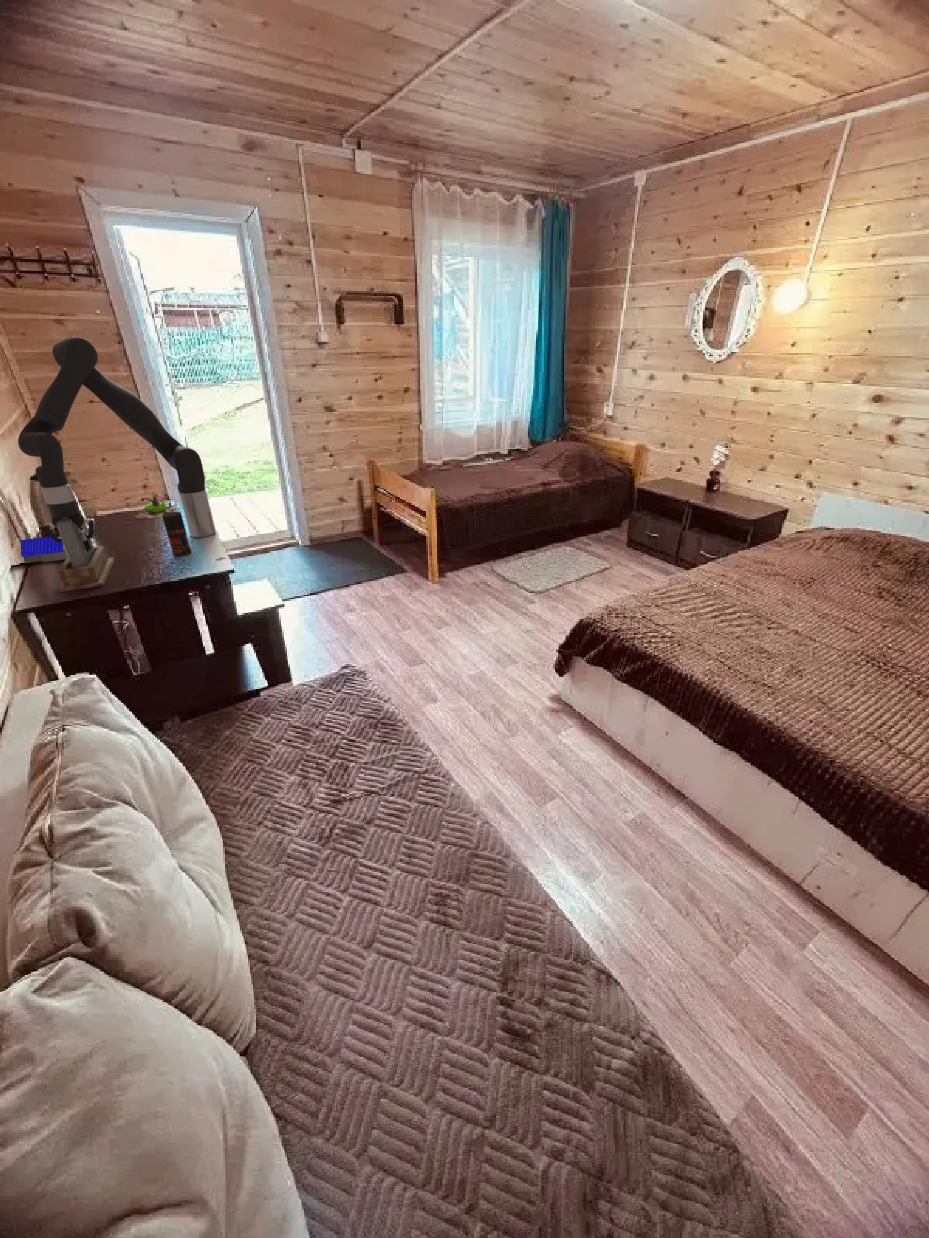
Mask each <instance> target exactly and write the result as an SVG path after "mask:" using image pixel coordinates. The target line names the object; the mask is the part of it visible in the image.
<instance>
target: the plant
mask: <svg viewBox="0 0 929 1238" xmlns="http://www.w3.org/2000/svg"><path fill="white" fill-rule="evenodd" d="M151 496H152V498H153V499H151V498H148V497H142V498H140V499H139V501H140V502H141V503H144V500H147V501H149V503H148V502H147V503H146V504H145V505H144V504H143V505H142V507H144V508H142V509H139V510H138V511H142V512H139V514H138V515H135V516H133V517H134V518H135V517H136V518H135V519H137V520H152V519H151V518H154V517H162V515H163V514H165V513H169V512H180V511H181V508H177V506H176V505H171V504H169V505H168V503H167V500H163V501H162V502H161V503H160V502H159V500H158V498H159V494H157V493H155V492H154V491H153V492H152V493H151ZM165 507H166V509H165ZM179 510H180V511H179ZM162 518H163V517H162Z"/></svg>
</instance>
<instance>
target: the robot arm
mask: <svg viewBox="0 0 929 1238" xmlns="http://www.w3.org/2000/svg"><path fill="white" fill-rule="evenodd" d="M52 356H53V359H54V361H55V362H56V363H57V364H58V366H59V367H60V369H59V371H58V373H57V375H56V377H55V378H54V380H53V381H52V383H51V384H50V385H49V386H48V388H47V389H46V390H45V392H44V393H43V395H42V397H41V399H40V401H39V403H38V406H37V409H36V412H35V413H34V415H33V417H32V418H31V419H30V420H29V421H28V422H27V423H26V424H25V426H24V427H23V428H22V430H21V431H20V433H19V436H18V439H17V442H18V447H19V450H20V451H21V452H22V453H23V454H25V455H27V456H29V457H35V458H40V463H41V465H39V466H37V467H36V468H35V475H36V478H37V480H38V483H39V485H40V488H41V492H42V496H43V499H44V502H45V503H46V507H47V509H48V512H49V514H50V517H51V519H52V520H51V522H48V523H47V522H46V523H45V524H44V525H43V529H44V530H45V532H47V534H48V535H49V537H52V538H53V540H54V541H55V542H62V543H63V541H62V538H61V537H60V534H58V533H57V531H56V530H55V528H57V526H56V524H57V522H58V521H59V520H62V519H63V518H64V517H69V519H72V524H73V527H74V529H75V531H76V532H77V533H78V535H80V537H81V538H82V539H83V543H84V546H85V549H86V551H87V552H90V550H91V548H92V546H91V543H90V541H89V539H93V538H94V536H95V529H96V527H95V524H96V520H95V518H94V517H93V518H92V517H91V518H86V517H84V516H83V514H82V513H80V512H81V511H80V508H79V505H78V502H77V499H76V496H75V494H74V491H73V489H72V487H71V485H70V482H69V481H68V477H67V475H66V472H65V470H64V469H65V468H64V467H65V466H64V465H65V463H64V451H63V447H62V444H61V442H60V440H59V439H58V438H57V437H56V436H55V435H53V434H54V433H57V432H60V431H62V430H63V428H64V427H65V424H66V422H67V420H68V418H69V414H70V412H71V409H72V407H73V404H74V402H75V400H76V398H77V396H78V394H79V392H80V390H81V388H82V387H83V386H84V387H85V388H86V389H87V390H89V391H90V392H91V393H92V394H93V395H94V396H95V397H96V398H98V400H100V401H101V402H102V403H103V404H104V405H105V406H106V407H108V408H109V410H111V411H112V412H113V413H114V414H115V415H116V416H117V417H118V418H119V419H120V420H121V421H122V422H123V423H125V424H126V425H127V426H128V427H129V428H130V429H131V430H132V431H134V433H136V434H137V435H139V436H140V437H141V438H142V439H143V440H145V442H147V443H149V444H150V445H151V446H152V447H153V448H154V449H155V450H156V451H157V452H158V453H159V454H160V455H161V457H162V458H164V460H165V461H166V462H167V464H169V466H170V467H171V468H173V470H175V471H176V473H177V477H178V484H176V485H177V490H178V495H179V498H180V502H181V505H182V509H183V513H184V517H185V521H186V525H187V529H188V532H189V533H188V534H189V535H190V537H192V538H206V537H210V536H214V535H217V532H216V531H217V530H216V526H215V522H214V518H213V514H212V508H211V507H210V503H209V499H208V498H209V497H208V494H207V490H206V485H205V484H206V477H205V471H204V467H203V463H202V458H201V456H200V455H199V453H198V452H197V451H196V450H195V449H193V448H190V447H187V446H185V445H183V444H182V443H181V442H179V440H176V438H174V437H173V435H171V434H170V433H169V432H168V431H167V430H166V428H164V426H163V424H162V423H161V421H160V420H159V419H158V416H156V415H155V413H154V412H153V410H151V408H150V407H149V406H148V405H146V404H145V403H144V401H142V399H140V398H139V397H138V396H137V395H136V394H135V393H133V392H131V391H130V390H128V389H126V388H125V387H123V386H121V385H120V384H118V383H116V382H114V381H113V380H111V379H109V378H108V377H106V376H105V375H104V374H103V373H102V372H101V371H100V370H99V369H97V368H96V366H97V364H98V361H99V360H98V359H99V355H98V352H97V348H95V346H94V345H93V344H92V343H91V342H90V341H89V340H88V339H86V338H85V337H81V336H71V337H67V338H65V339H63V340H60V341H58V342H56V343H55V344H54V345H53V346H52ZM83 523H85V526H86V527H88V534H86V532H85V530H84V529H83V527H82V525H83ZM63 544H64V543H63Z"/></svg>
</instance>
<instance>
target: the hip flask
mask: <svg viewBox="0 0 929 1238" xmlns="http://www.w3.org/2000/svg"><path fill="white" fill-rule="evenodd" d="M80 513H81V511H80ZM81 514H82V513H81ZM56 526H57V527H56ZM56 526H55V527H56V528H57V530H58V533H59V536H61V538H62V541H63V543H64V546H65V549H66V551H67V554H68V556H69V559H70V561H71V564H72V567H73V568H80V567H87V566H88V565H89V563H90V561H91V559H92V557H93V555H94V554H95V550H94V548H93V547H94V545H93V542H92V540H91V539H92V538H90V539H89V541H90V543H91V546H92V548H91V550H90V552H87V551H86V549H85V546H84V543H83V539H82V538H81V537H80V535H78V533H77V532H76V531H75V529H74V527H73V524H72V519H69V517H64V518H63V519H62V520H59V521H58V522H57V524H56ZM82 527H83V529H84V530H85V532H86V534H89V530H88V529H87V525H86V522H84V523H83V525H82Z"/></svg>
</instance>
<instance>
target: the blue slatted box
mask: <svg viewBox="0 0 929 1238" xmlns="http://www.w3.org/2000/svg"><path fill="white" fill-rule="evenodd" d="M59 536H60V535H59ZM60 537H61V536H60ZM20 540H21V555H22V557H24V561H25V562H26V564H30V563H37V562H43V563H46V562H54V561H55V562H56V561H65V560H66V559H67V557H68V554H67V551H66V549H65V546H64V544H63V543H62V542H55V541H54V540H53V538H52V537H51V536H43V537H35V538H34V537H33V538H30V537H26V539H20Z"/></svg>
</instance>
